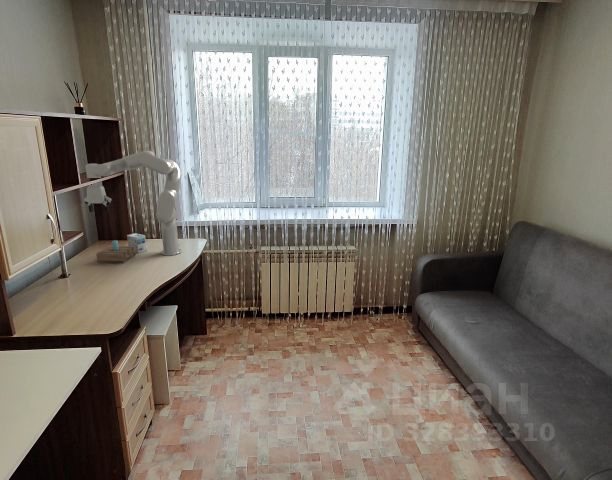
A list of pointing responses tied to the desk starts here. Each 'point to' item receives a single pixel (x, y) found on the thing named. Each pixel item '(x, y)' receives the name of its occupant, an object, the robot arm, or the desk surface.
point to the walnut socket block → (116, 254)
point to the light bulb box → (137, 242)
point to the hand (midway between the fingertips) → (99, 212)
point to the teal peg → (115, 245)
